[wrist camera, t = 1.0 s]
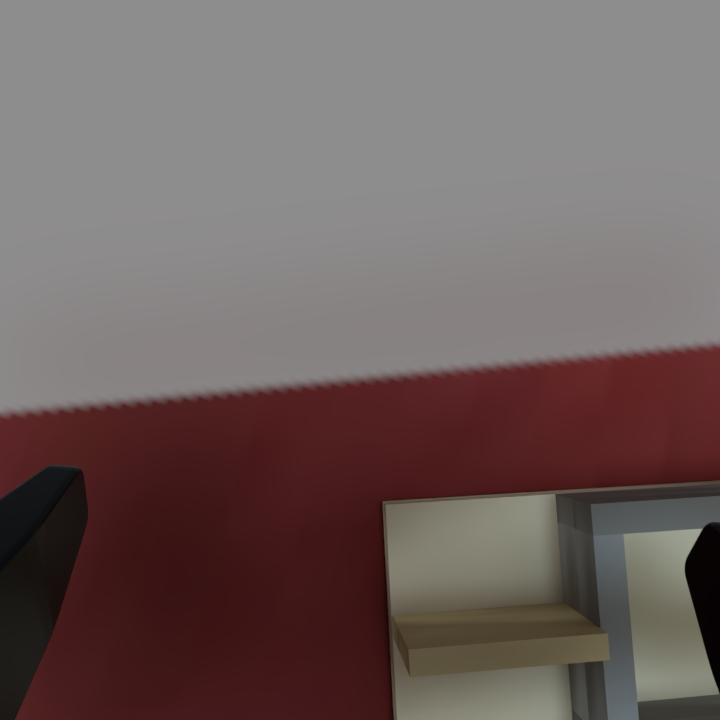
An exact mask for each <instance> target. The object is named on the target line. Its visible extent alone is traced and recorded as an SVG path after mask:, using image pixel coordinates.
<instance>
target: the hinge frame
mask: <svg viewBox="0 0 720 720" xmlns="http://www.w3.org/2000/svg"><path fill="white" fill-rule="evenodd" d="M382 506H383V525H384V544H385V563H386V582H387V601H388V620H389V639H390V658H391V677H392V696H393V715H394V720H720V694H719V691H718V688H717V685H716V683H715V680H714V677H713V674H712V671H711V668H710V664H709V661H708V658H707V654H706V650H705V647H704V643H703V639H702V636H701V632H700V628H699V625H698V621H697V617H696V614H695V610H694V607H693V603H692V599H691V596H690V592H689V588H688V585H687V581H686V577H685V561H686V558H687V556H688V554H689V552H690V551H691V549H692V547H693V545H694V543H695V542H696V540H697V538H698V536H699V535H700V533H701V531H702V529H703V528H704V526H705V525H707V524H708V523H711V522H720V480H718V481H701V482H685V483H669V484H653V485H637V486H621V487H605V488H588V489H572V490H556V491H540V492H524V493H508V494H492V495H476V496H459V497H443V498H427V499H411V500H395V501H382Z"/></svg>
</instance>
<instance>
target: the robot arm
mask: <svg viewBox="0 0 720 720" xmlns="http://www.w3.org/2000/svg"><path fill="white" fill-rule="evenodd" d="M87 519H88V506H87V498H86V490H85V482H84V475H83V472H82V470H81V469H80V468H78V467H75V466H64V465H50V466H47V467H46V468H44V469H42V470H41V471H40V472H38V473H37V474H35V475H34V476H32V477H31V478H29V479H28V480H27V481H25V482H24V483H22V484H21V485H19V486H18V487H16V488H15V489H14V490H12V491H11V492H9V493H8V494H6V495H5V496H4V497H2V498H1V499H0V720H15V718H16V716H17V713H18V711H19V709H20V706H21V704H22V702H23V700H24V697H25V695H26V693H27V691H28V688H29V686H30V684H31V681H32V679H33V677H34V675H35V672H36V670H37V668H38V666H39V663H40V661H41V659H42V656H43V654H44V652H45V650H46V647H47V645H48V642H49V640H50V638H51V635H52V633H53V630H54V627H55V624H56V621H57V618H58V615H59V612H60V609H61V606H62V603H63V599H64V596H65V593H66V590H67V587H68V583H69V580H70V577H71V574H72V570H73V567H74V564H75V561H76V558H77V554H78V551H79V548H80V545H81V541H82V538H83V535H84V532H85V528H86V525H87ZM685 577H686V581H687V585H688V588H689V592H690V596H691V599H692V603H693V607H694V610H695V614H696V617H697V621H698V625H699V628H700V632H701V636H702V639H703V643H704V647H705V650H706V654H707V658H708V661H709V664H710V668H711V671H712V674H713V677H714V680H715V683H716V685H717V688H718V691H719V694H720V522H711V523H708V524H707V525H705V526H704V528H703V529H702V531H701V533H700V535H699V536H698V538H697V540H696V542H695V543H694V545H693V547H692V549H691V551H690V552H689V554H688V556H687V558H686V561H685Z"/></svg>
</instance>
